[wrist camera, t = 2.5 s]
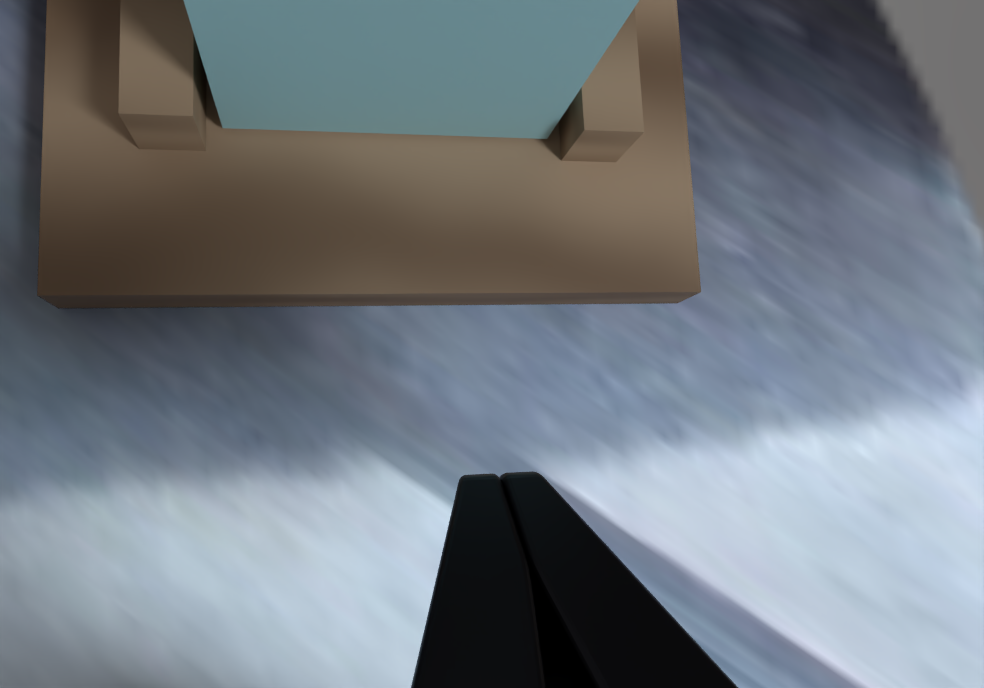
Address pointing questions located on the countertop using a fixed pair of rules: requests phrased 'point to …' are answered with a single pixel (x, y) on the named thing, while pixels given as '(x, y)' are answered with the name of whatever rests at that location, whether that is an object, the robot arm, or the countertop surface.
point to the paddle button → (401, 63)
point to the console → (351, 186)
